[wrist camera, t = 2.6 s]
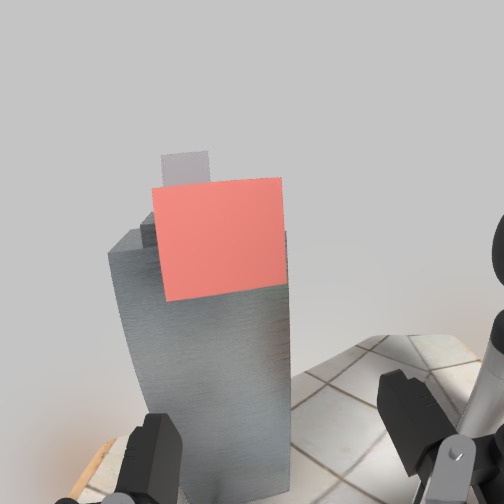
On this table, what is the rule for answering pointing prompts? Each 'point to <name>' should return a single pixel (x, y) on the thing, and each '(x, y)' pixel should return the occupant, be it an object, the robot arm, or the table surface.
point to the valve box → (211, 373)
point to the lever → (217, 230)
